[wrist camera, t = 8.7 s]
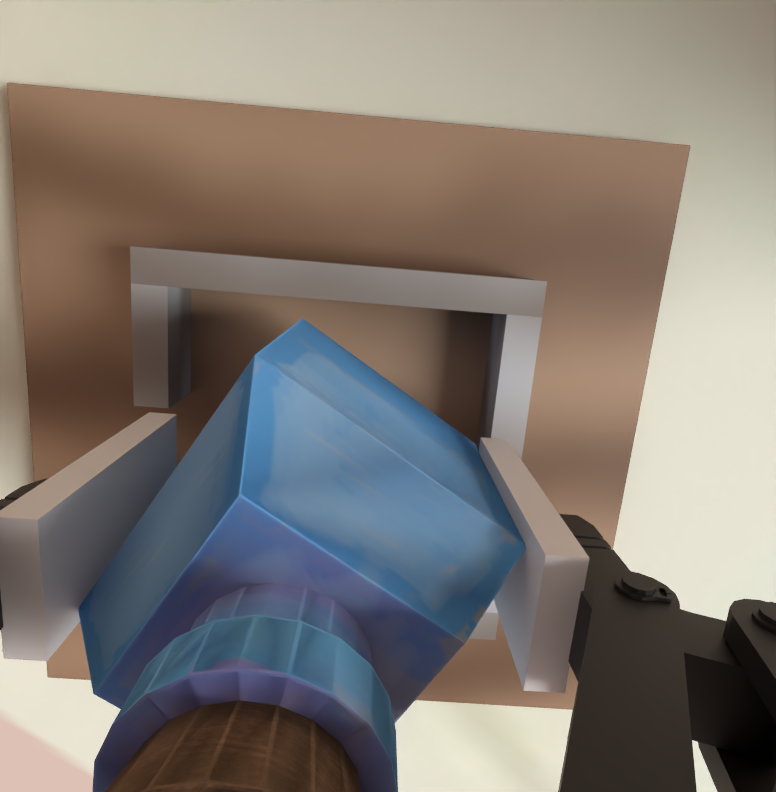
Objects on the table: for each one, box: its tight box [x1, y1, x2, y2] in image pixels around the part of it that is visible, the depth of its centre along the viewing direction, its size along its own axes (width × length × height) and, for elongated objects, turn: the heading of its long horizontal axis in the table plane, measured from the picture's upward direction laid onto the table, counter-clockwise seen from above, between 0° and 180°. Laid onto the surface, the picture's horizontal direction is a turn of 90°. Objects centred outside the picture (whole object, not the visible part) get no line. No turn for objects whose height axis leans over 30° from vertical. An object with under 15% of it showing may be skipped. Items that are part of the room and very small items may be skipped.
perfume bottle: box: [78, 318, 526, 792], centre depth 11 cm, size 6×6×12 cm
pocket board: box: [7, 83, 690, 710], centre depth 18 cm, size 20×20×3 cm
